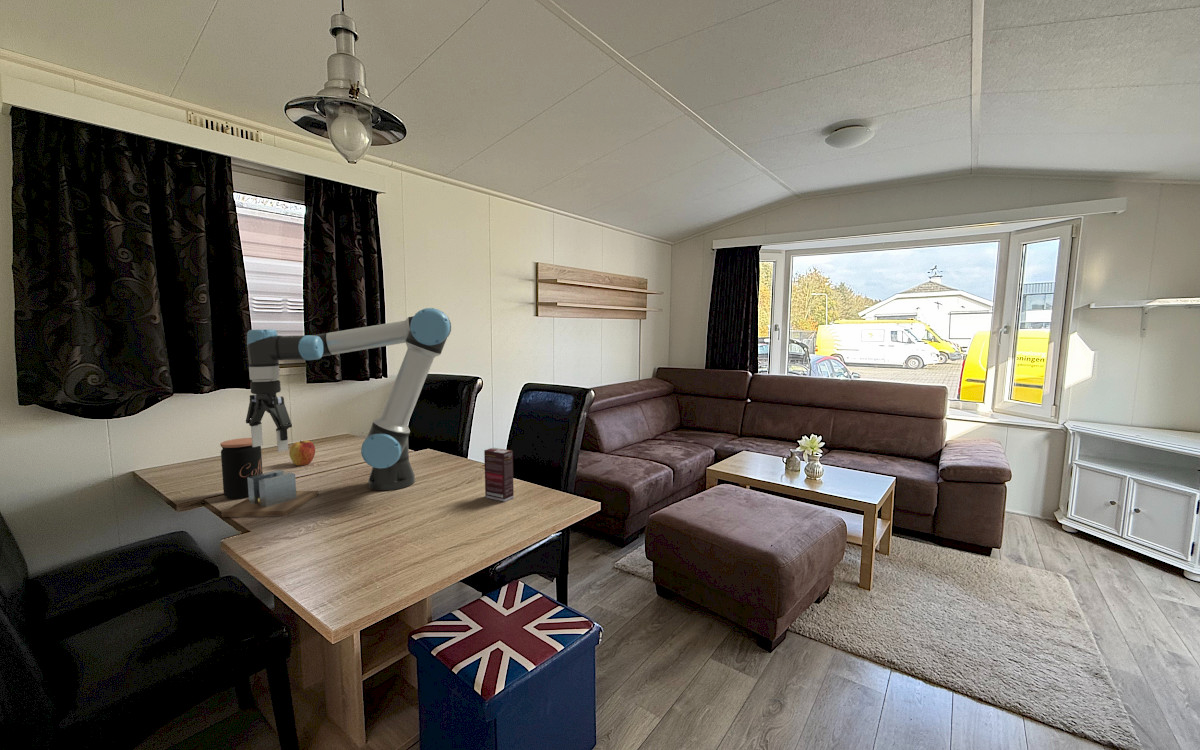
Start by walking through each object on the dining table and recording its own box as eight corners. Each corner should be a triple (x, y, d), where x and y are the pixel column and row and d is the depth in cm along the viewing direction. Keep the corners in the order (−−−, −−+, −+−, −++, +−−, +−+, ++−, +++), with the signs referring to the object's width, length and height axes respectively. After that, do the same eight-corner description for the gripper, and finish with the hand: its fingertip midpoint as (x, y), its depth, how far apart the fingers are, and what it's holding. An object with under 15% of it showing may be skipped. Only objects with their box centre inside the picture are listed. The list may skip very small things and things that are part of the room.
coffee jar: (242, 500, 153) (239, 445, 151) (215, 498, 155) (211, 444, 153) (271, 490, 163) (268, 438, 162) (245, 488, 165) (242, 437, 164)
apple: (306, 467, 190) (305, 443, 189) (284, 467, 190) (282, 443, 189) (320, 461, 199) (319, 438, 198) (299, 461, 199) (297, 438, 198)
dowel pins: (285, 496, 153) (284, 490, 152) (287, 496, 152) (287, 490, 152) (257, 504, 145) (256, 498, 145) (259, 505, 145) (259, 498, 145)
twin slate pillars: (296, 498, 151) (295, 473, 150) (266, 507, 143) (264, 481, 142) (279, 493, 155) (278, 469, 154) (249, 502, 147) (247, 477, 146)
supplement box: (514, 497, 156) (513, 450, 155) (504, 502, 152) (503, 453, 151) (494, 493, 160) (493, 447, 159) (484, 497, 156) (483, 450, 155)
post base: (318, 495, 158) (316, 473, 158) (285, 515, 140) (283, 491, 140) (262, 495, 157) (260, 473, 157) (221, 516, 139) (219, 491, 139)
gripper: (302, 380, 143) (306, 450, 145) (255, 377, 154) (260, 441, 156) (275, 383, 136) (280, 455, 138) (229, 379, 148) (234, 446, 150)
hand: (270, 448), depth 147 cm, fingers open, 13 cm apart
